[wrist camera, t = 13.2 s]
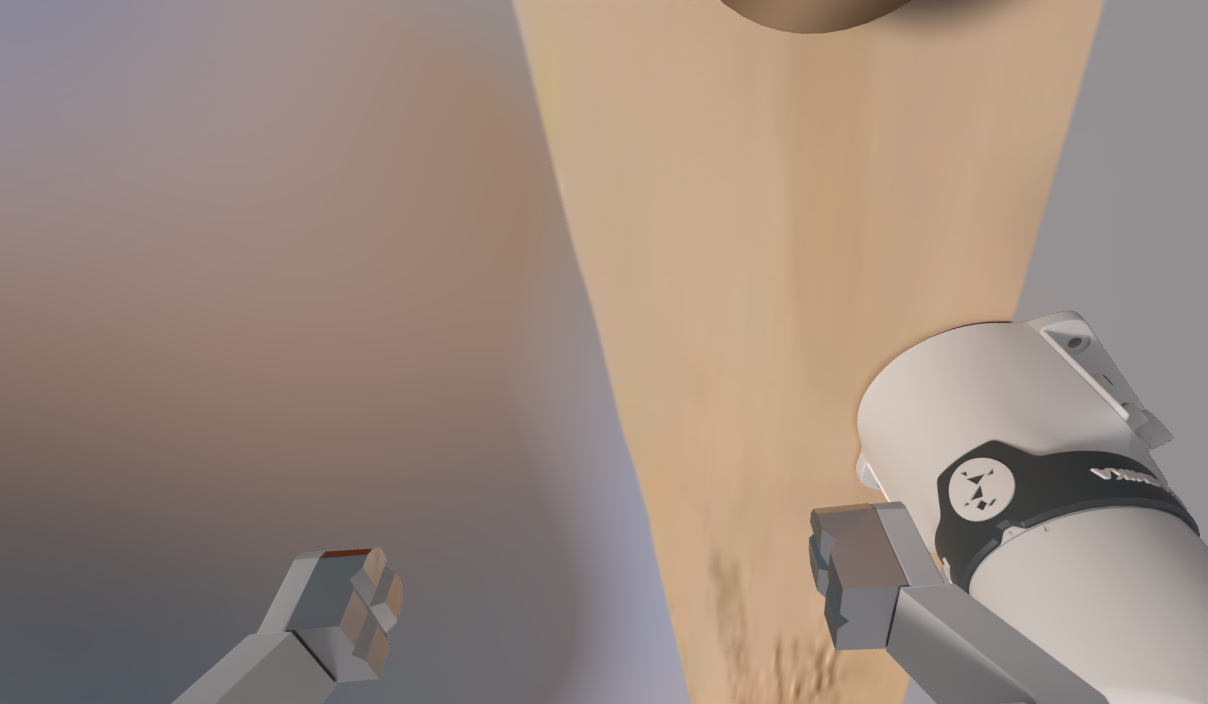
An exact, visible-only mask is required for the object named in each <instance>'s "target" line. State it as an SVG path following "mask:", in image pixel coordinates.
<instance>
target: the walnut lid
mask: <svg viewBox="0 0 1208 704" xmlns="http://www.w3.org/2000/svg"><path fill="white" fill-rule="evenodd" d="M721 1H722V2H723V3H724V4H725V5H727V6H728V7H730V8H731V9H733V10H734V11H736V12H737V13H739V14H740V15H742V16H743V17H745V18H747V19H750V20H752V21H754V22H756V23H758V24H760V25H762V26H766V27H769V28H773V29H776V30H780V31H785V32H793V33H801V34H810V33H828V32H834V31H840V30H846V29H849V28H852V27H855V26H859V25H862V24H865V23H868V22H870V21H873V20H875V19H877V18H879V17H882V16H884V15H886V14H888V13H890V12H892V11H894V10H895V9H897V8H899V7H900V6H902V5H904V4H905V3H907V2H909V1H911V0H721Z"/></svg>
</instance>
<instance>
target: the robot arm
mask: <svg viewBox="0 0 1208 704" xmlns="http://www.w3.org/2000/svg"><path fill="white" fill-rule="evenodd" d="M1070 340H1071V341H1070ZM857 428H858V434H859V437H860V441H861V453H860V456H859V459H858V461H857V465H856V475H857V476H858V478H859V480H860V481H861V483H862V484H863V485H865V486H867V487H869V488H872V489H876V490H879V491H882V492H883V493H884V495H885V497H886V499H887V501H888V502H884V503H874V504H868V503H866V504H856V505H846V506H836V507H826V508H817V509H813V510H812V512H811V518H810V523H811V526H812V529H813V533H814V534H813V535H812V536H811V537H810V538H809V555H810V564H811V569H812V573H813V577H814V581H815V584H816V588H817V590H818V591H819V592H820V593H821V594H822V595H823V596H824V597H826V598H825V610H824V615H825V618H826V621H827V624H828V628H829V631H830V634H831V637H832V641H833V644H834V647H835V650H856V649H884V648H887V652H888V653H889V654H890V655H891V656H892V657H893V658H894V659H895V660H896V661H897V663H898V664H899V665H900V666H901V667H902V668H903V669H904V670H905V671H906V672H907V673H908V674H909V675H910V676H911V677H912V678H913V679H914V680H915V681H916V682H917V683H918V684H919V685H920V687H921V688H922V689H923V690H924V691H925V692H926V693H927V694H928V695H929V696H930V697H931V698H932V699H933V700H934V701H935V702H936V703H937V704H1208V546H1207V545H1206V544H1205V543H1204V542H1203V541H1202V540H1201V539H1200V533H1199V529H1198V526H1197V524H1196V522H1195V521H1194V519H1193V518H1192V516H1190V514H1189V513H1188V512H1187V509H1186V507H1185V506H1184V504H1183V503H1182V501H1181V500H1180V499H1179V498H1178V497H1177V496H1176V495H1175V493H1174V492H1173V491H1172V490H1171V489H1170V488H1169V487H1167V481H1166V479H1165V477H1164V476H1163V474H1162V473H1161V471H1160V469H1159V468H1158V466H1157V465H1156V463H1155V462H1154V460H1153V459H1152V457H1151V456H1150V454H1149V453H1148V451H1150V448H1151V449H1154V448H1155V447H1158V446H1160V445H1163V444H1165V443H1166V442H1169V441H1171V439H1172V438H1173V436H1172V434H1171V433H1170V432H1169V431H1168V430H1167V429H1166V428H1165V426H1164V425H1163V424H1162V423H1161V422H1160V421H1159V420H1158V419H1156V417H1154V416H1153V415H1152V414H1151V413H1150V412H1149V411H1148V410H1146V409H1144V407H1143V406H1142V404H1141V403H1140V401H1139V400H1138V398H1137V397H1136V395H1135V394H1134V393H1133V391H1132V389H1131V388H1130V386H1129V385H1128V383H1127V382H1126V380H1125V379H1124V377H1123V376H1122V374H1121V373H1120V371H1119V370H1118V368H1117V367H1116V365H1115V364H1114V362H1113V361H1112V359H1111V358H1110V356H1109V355H1108V353H1107V352H1106V350H1105V349H1104V348H1103V346H1102V344H1101V343H1100V342H1099V340H1098V338H1097V337H1096V336H1095V334H1094V333H1093V331H1092V330H1091V328H1090V327H1089V325H1088V324H1087V323H1086V321H1085V320H1084V319H1083V318H1082V317H1081V316H1080V315H1079V314H1078V313H1077V312H1074V311H1063V312H1057V313H1053V314H1049V315H1046V316H1043V317H1039V318H1036V319H1033V320H1030V321H1027V322H1020V323H985V324H976V325H970V326H965V327H961V328H957V329H953V330H950V331H947V332H944V333H941V334H938V335H936V336H933V337H931V338H929V339H927V340H925V341H923V342H921V343H919V344H917V345H915V346H913V347H912V348H910V349H909V350H907V351H905V352H904V353H902V354H901V355H900V356H898V357H897V358H896V359H894V360H893V361H892V362H891V363H890V364H889V365H887V366H886V367H885V368H884V369H883V370H882V371H881V372H880V373H879V375H878V376H877V377H876V378H875V379H874V381H873V382H872V383H871V385H870V386H869V388H868V389H867V391H866V393H865V395H864V397H863V399H862V401H861V404H860V407H859V411H858V416H857ZM929 552H931V553H934V554H938V556H939V558H940V560H941V562H942V564H943V568H944V571H945V574H946V576H947V577H948V580H949V581H950V583H951V584H945V583H944V581H943V579H942V577H941V575H940V573H939V571H938V569H937V567H936V565H935V563H934V561H933V559H932V557H931V555H930V553H929ZM386 560H387V557H386V556H385V554H384V553H383V551H382V550H381V548H369V549H354V550H338V551H321V552H309V553H302V554H301V555H300V556H299V557H298V558H297V559H296V560H295V561H294V562H293V564H292V566H291V568H290V570H289V572H288V574H287V576H286V578H285V580H284V582H283V584H282V586H281V588H280V590H279V591H278V594H277V595H276V597H275V599H274V602H273V603H272V605H271V607H270V609H269V611H268V613H267V615H266V617H265V619H264V621H263V623H262V625H261V627H260V629H259V630H258V633H257V634H250V635H248V636H247V637H246V638H245V639H244V640H243V641H242V642H241V643H239V645H237V646H236V647H235V648H234V649H233V650H232V651H230V652H229V653H228V654H227V655H226V656H225V657H224V658H223V659H222V660H221V661H219V662H218V663H217V664H216V665H215V666H214V667H213V668H211V669H210V670H209V671H208V672H207V673H206V674H205V675H203V677H201V678H200V679H199V680H198V681H197V682H196V683H194V684H193V685H192V686H191V687H190V688H189V689H188V690H187V691H185V692H184V693H183V694H182V695H181V696H180V697H179V698H177V699H176V700H175V701H174V702H173V703H172V704H322V703H323V702H324V701H325V699H326V698H327V697H328V695H329V694H330V693H331V692H332V691H333V689H334V688H335V687H336V683H339V682H349V681H360V680H371V679H379V677H380V674H381V671H382V668H383V665H384V662H385V659H386V655H387V652H388V649H389V646H390V642H389V639H388V636H387V634H386V632H387V631H388V630H389V629H390V628H391V627H392V626H393V625H394V624H395V623H396V622H397V621H398V617H399V614H400V610H401V607H402V592H403V590H402V586H401V581H400V579H399V577H398V575H397V573H396V572H395V571H393V570H391V569H389V568H388V567H386V566H385V563H386Z"/></svg>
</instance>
